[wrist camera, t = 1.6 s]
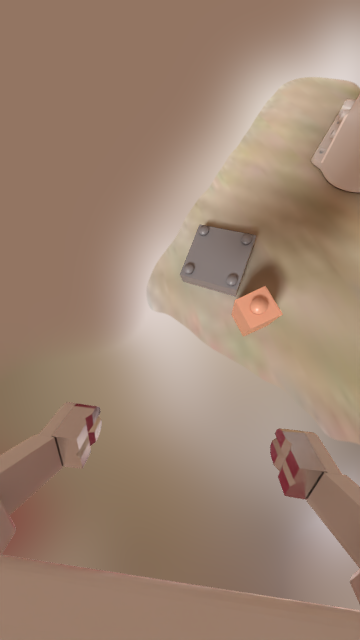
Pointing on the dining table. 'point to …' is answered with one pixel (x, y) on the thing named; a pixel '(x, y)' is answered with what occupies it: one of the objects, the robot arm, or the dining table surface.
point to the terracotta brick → (255, 311)
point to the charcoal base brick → (218, 259)
